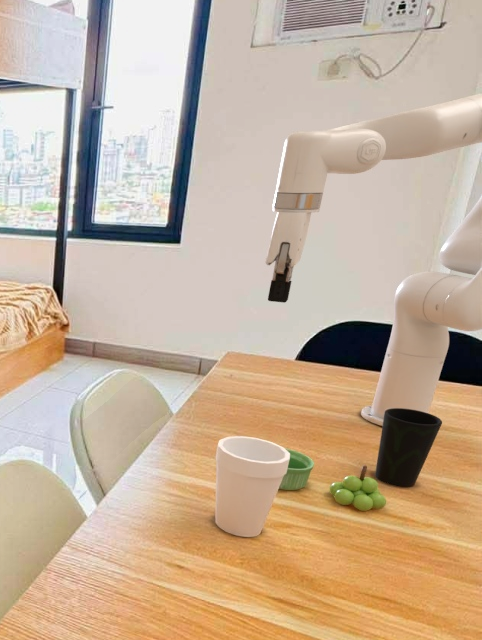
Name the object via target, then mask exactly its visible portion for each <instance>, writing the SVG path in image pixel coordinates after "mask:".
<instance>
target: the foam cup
mask: <svg viewBox="0 0 482 640" xmlns="http://www.w3.org/2000/svg"><path fill="white" fill-rule="evenodd" d="M286 449H287V448H286ZM286 449H285V447H284V446H282V445H279V444H277V443H275V442H272V441H270V440H266V439H263V438H258V437H252V436H244V435H242V436H241V435H237V436H226V437H223V438H221V439H219V440H218V443H217V446H216V453H215V458H214V460H215V461H216V468H215V469H216V470H215V471H216V472H215V473H216V474H215V509H214V510H215V515H214V516H215V517H214V519H215V522H214V523H215V524H216V525H217V527H218V528H219V529H220V530H222V531H223V532H225V533H228V534H230V535H234V536H235V537H236V536H237V537H243V538H252V537H257V536H259V535H260V534H261V532H262V531H263V529H264V526H265V524H266V522H267V519H268V516H269V514H270V511H271V508H272V506H273V504H274V501H275V498H276V497H277V494H278V491H279V490H280V489H279V486H280V484H281V482H282V479H283V477H284V475H285V474H286V473H287V469H288V464H289V460H290V453H289V452H288V451H287V450H286Z"/></svg>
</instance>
